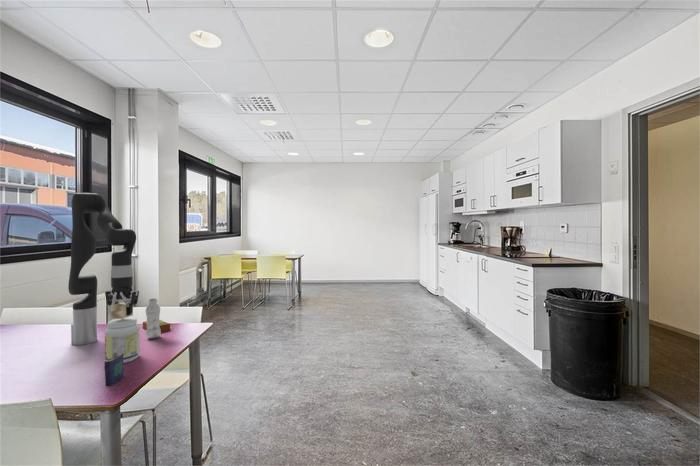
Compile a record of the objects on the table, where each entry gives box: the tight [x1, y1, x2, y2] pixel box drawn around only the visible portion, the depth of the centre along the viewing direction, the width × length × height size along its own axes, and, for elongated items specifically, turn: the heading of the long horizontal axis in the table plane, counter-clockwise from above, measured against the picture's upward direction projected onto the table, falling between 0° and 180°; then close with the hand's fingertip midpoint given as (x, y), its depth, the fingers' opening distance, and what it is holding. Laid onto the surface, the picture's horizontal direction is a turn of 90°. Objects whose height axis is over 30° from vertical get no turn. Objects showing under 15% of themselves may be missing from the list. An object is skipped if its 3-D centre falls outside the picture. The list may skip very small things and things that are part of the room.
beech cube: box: [110, 302, 134, 320], centre depth 137 cm, size 6×6×6 cm
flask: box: [104, 352, 125, 387], centre depth 118 cm, size 9×3×11 cm, turn 8°
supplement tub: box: [104, 316, 141, 364], centre depth 138 cm, size 12×12×17 cm
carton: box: [142, 319, 171, 333], centre depth 180 cm, size 8×16×4 cm, turn 52°
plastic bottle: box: [145, 298, 162, 340], centre depth 165 cm, size 6×7×20 cm
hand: (122, 314), depth 138 cm, fingers closed on beech cube, 5 cm apart
